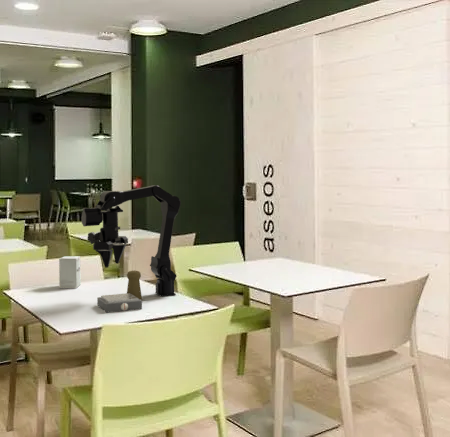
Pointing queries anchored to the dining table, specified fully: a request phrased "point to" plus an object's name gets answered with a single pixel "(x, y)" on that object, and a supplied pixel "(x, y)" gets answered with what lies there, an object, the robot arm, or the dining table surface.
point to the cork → (134, 284)
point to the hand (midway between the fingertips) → (111, 265)
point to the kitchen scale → (119, 302)
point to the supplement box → (69, 272)
